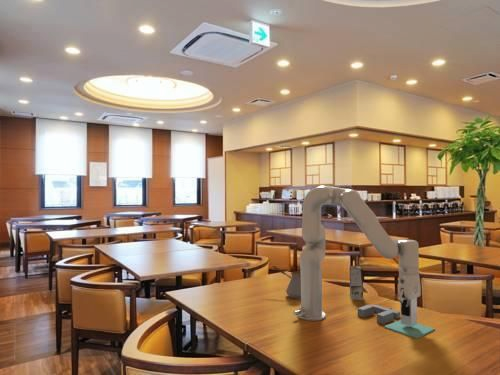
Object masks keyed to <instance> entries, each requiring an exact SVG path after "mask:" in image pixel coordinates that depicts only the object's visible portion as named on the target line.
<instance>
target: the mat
mask: <svg viewBox="0 0 500 375" xmlns="http://www.w3.org/2000/svg"><path fill="white" fill-rule="evenodd" d="M383 328H384V329H386V330H389V331H392V332H396V333H398V334H402V335H405V336H408V337H410V338H414V339H416V340H417V339H420V338H422V337H424V336H426V335H427V334H430V333H432V332H434V331H435V330H436V329H435V328H434V327H430V326H427V325H424V324H420V323H418V322H417V325H415V326H413V327H409V326H406V325H403V324H401V319H399V320H396V321H394V322H392V323H390V324H386V325H384V327H383Z"/></svg>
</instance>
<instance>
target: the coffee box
mask: <svg viewBox="0 0 500 375" xmlns="http://www.w3.org/2000/svg"><path fill="white" fill-rule="evenodd" d="M349 296H350V297H349V298H350V300H355V301H364V269H363V267H362V266H361V265H349Z"/></svg>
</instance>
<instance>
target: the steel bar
mask: <svg viewBox="0 0 500 375" xmlns="http://www.w3.org/2000/svg"><path fill="white" fill-rule="evenodd" d="M404 298H406V297H405V296H404ZM404 301H405V302H406V300H405V299H404ZM408 306H409V316H405V315H402V314H401V313H400V320H401V324H403V325H406V326H409V327H413V326H415V325H417V323H418V297H417V298H414V299H412V300H409V305H408Z"/></svg>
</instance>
